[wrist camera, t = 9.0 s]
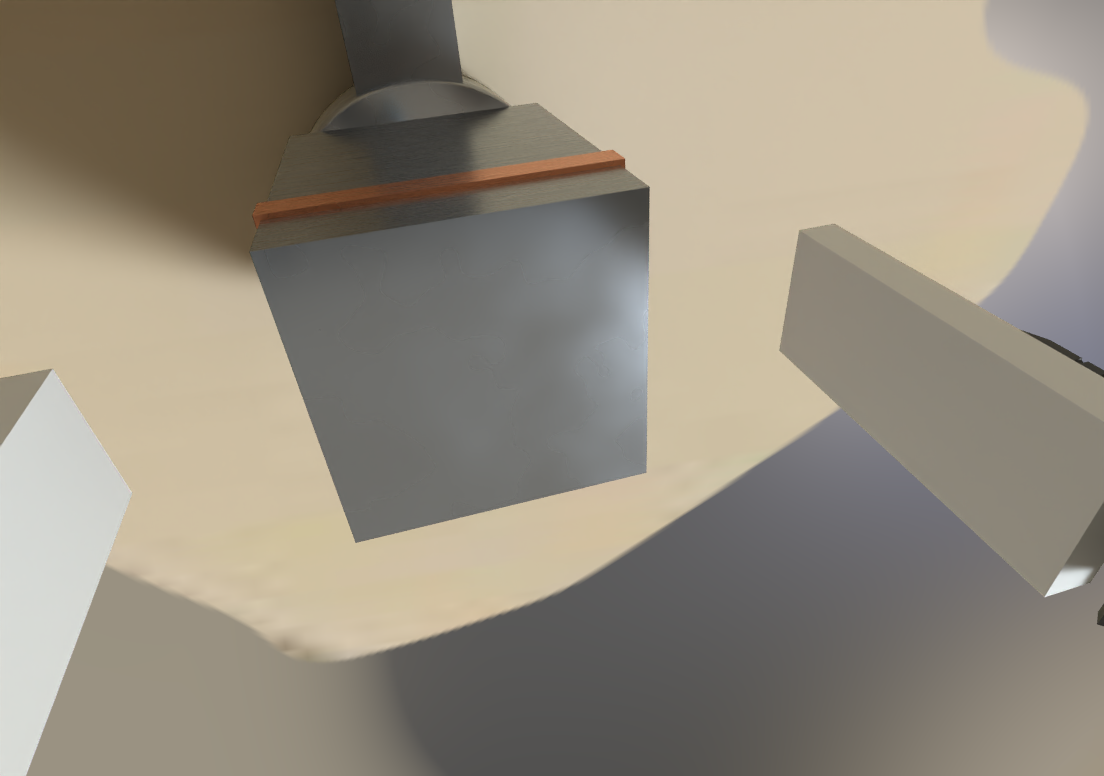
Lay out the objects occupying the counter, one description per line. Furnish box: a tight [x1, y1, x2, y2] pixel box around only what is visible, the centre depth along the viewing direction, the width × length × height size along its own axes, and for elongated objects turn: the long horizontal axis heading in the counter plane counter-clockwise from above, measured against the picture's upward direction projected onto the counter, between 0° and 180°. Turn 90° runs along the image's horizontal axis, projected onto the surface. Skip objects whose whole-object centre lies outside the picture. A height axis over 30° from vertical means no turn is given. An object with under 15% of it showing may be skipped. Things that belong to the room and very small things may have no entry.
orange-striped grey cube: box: [250, 103, 650, 543], centre depth 15 cm, size 7×7×8 cm
